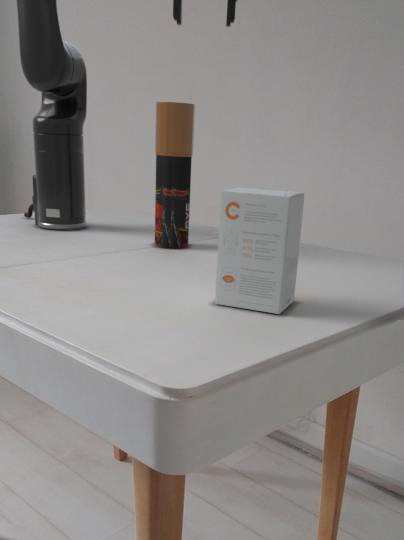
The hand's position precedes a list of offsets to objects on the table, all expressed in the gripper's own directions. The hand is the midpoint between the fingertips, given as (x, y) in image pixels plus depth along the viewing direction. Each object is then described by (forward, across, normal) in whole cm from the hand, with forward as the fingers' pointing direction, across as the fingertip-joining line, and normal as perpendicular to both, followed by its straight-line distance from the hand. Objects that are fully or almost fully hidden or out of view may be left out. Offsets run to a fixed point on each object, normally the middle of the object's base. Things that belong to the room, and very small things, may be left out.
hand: (203, 25), depth 97 cm
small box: (+36, -10, +46) cm, 60 cm away
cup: (+21, +3, +12) cm, 24 cm away
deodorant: (+36, +3, +12) cm, 38 cm away
